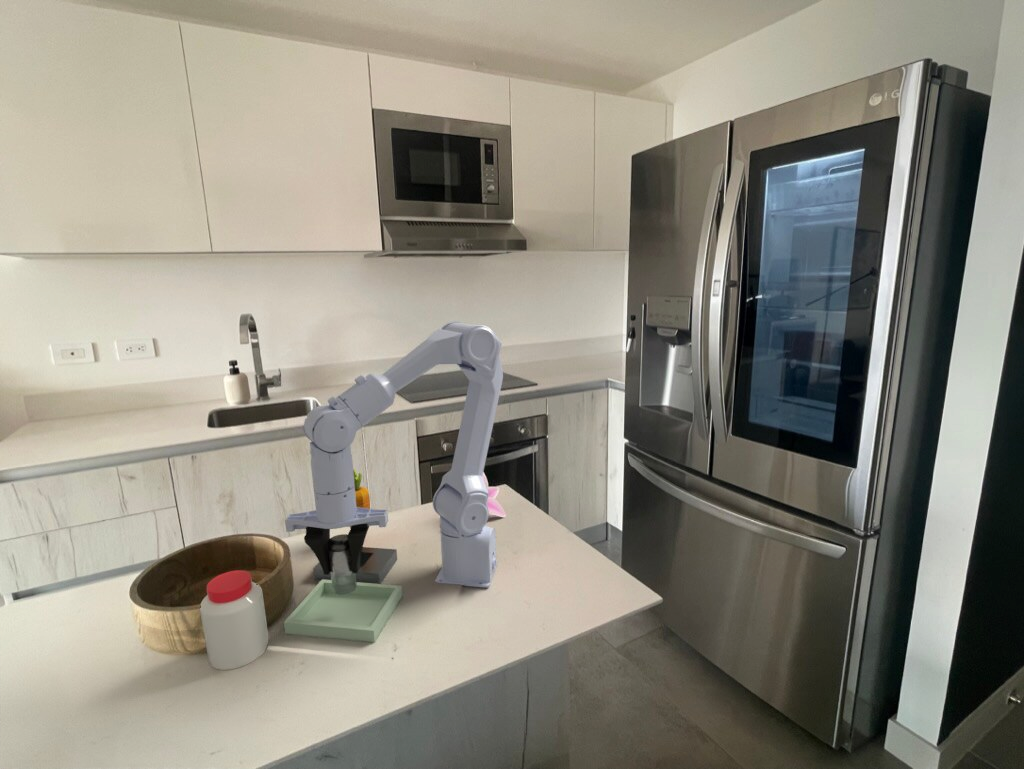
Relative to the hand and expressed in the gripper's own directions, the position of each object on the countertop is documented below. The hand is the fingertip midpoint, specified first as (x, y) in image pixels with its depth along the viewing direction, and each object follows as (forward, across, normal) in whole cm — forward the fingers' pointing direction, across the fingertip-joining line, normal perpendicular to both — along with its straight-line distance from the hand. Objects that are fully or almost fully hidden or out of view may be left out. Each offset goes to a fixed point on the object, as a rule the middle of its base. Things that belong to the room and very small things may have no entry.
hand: (342, 570), depth 80 cm
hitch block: (+8, +1, -13) cm, 15 cm away
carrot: (+8, +3, -23) cm, 25 cm away
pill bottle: (+8, +14, +6) cm, 17 cm away
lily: (+8, -21, -31) cm, 39 cm away
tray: (+8, 0, 0) cm, 8 cm away
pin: (+3, 0, 0) cm, 3 cm away
